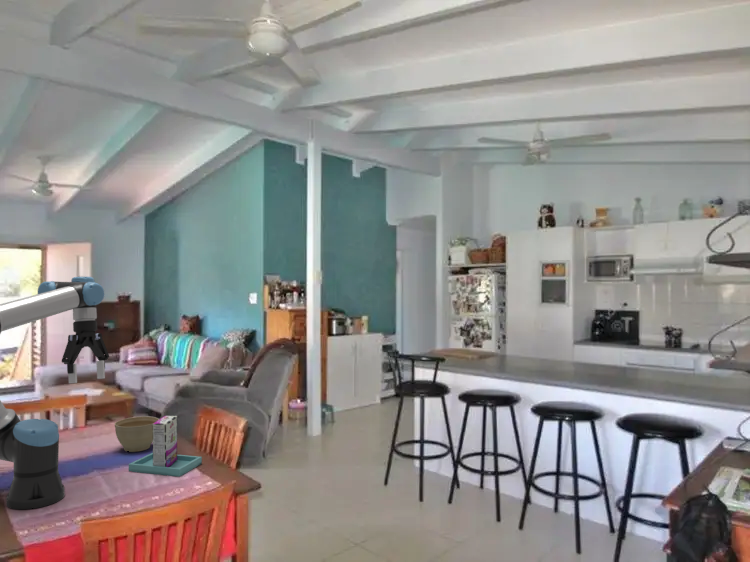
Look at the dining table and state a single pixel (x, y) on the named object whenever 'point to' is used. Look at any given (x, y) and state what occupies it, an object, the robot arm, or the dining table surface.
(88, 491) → the dining table surface
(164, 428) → the candy bar box
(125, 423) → the planter bowl
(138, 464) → the tray
